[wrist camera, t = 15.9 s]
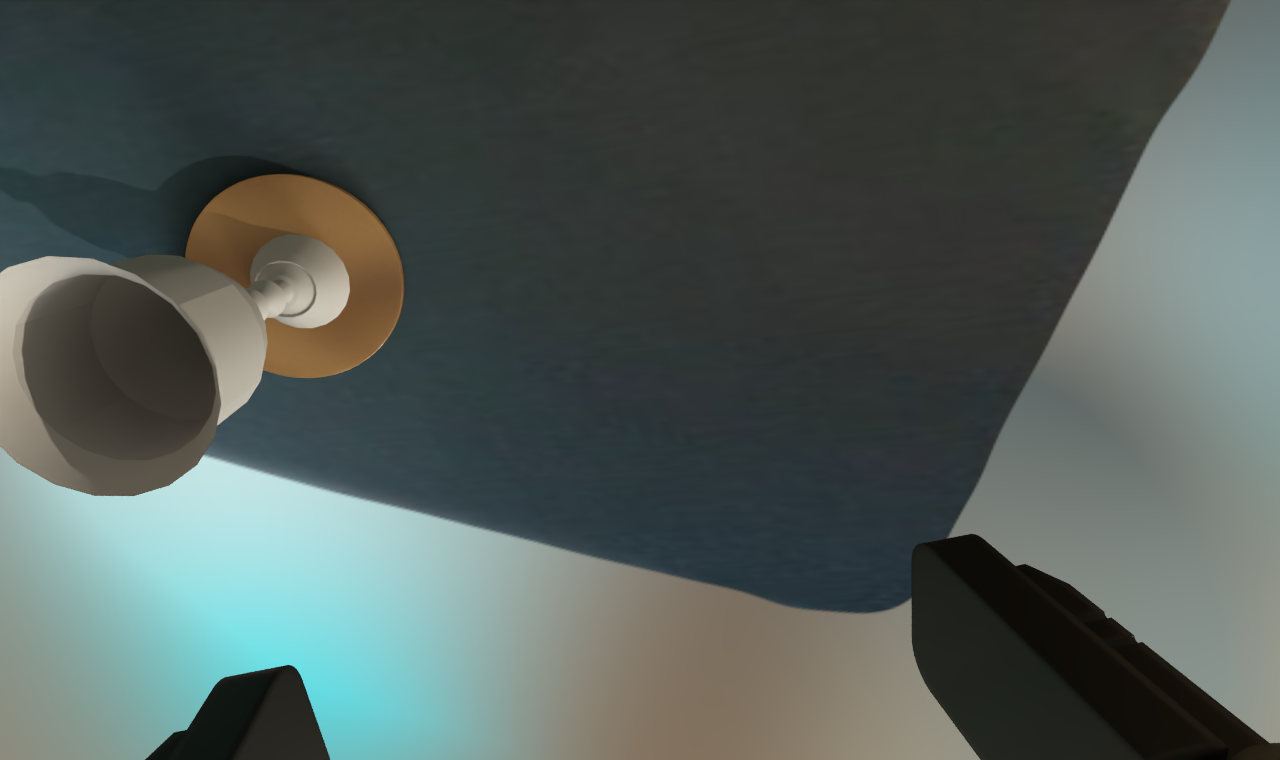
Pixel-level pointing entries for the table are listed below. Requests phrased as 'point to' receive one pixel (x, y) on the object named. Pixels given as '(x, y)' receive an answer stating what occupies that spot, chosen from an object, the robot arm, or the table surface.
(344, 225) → the coaster
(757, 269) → the table surface
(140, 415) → the chalice
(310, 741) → the robot arm
